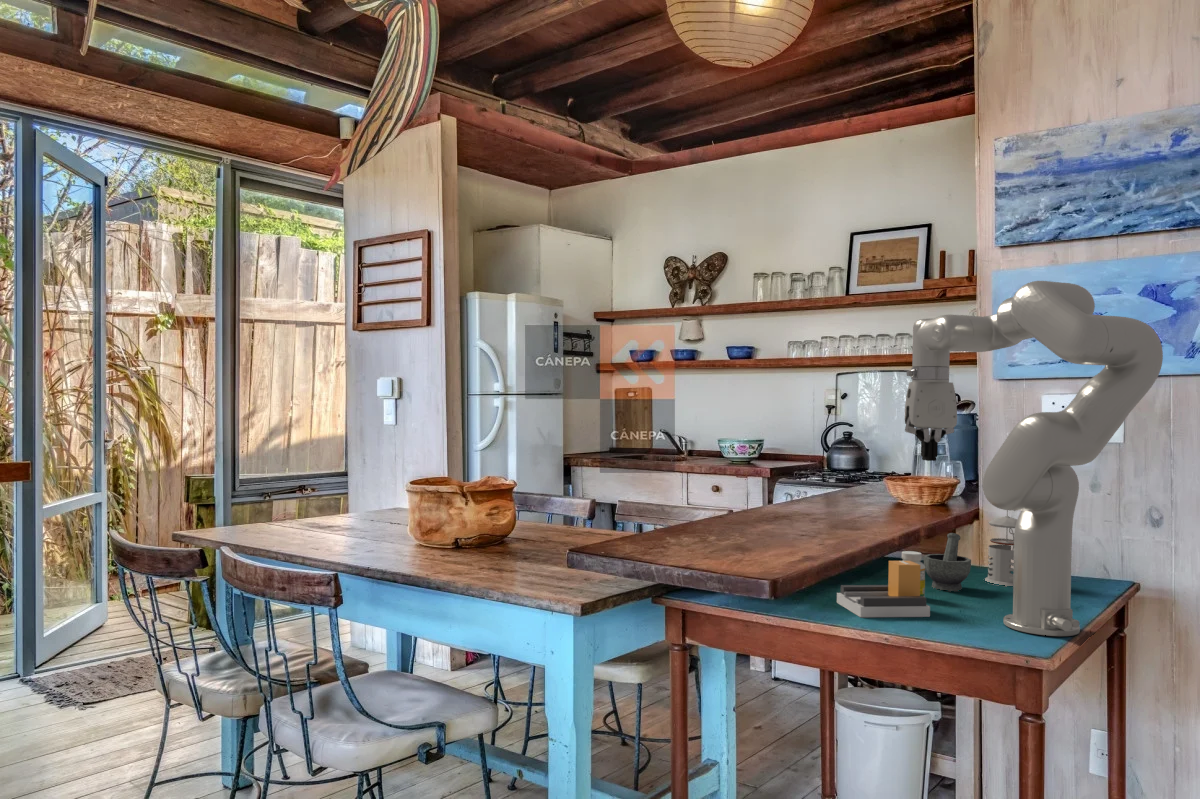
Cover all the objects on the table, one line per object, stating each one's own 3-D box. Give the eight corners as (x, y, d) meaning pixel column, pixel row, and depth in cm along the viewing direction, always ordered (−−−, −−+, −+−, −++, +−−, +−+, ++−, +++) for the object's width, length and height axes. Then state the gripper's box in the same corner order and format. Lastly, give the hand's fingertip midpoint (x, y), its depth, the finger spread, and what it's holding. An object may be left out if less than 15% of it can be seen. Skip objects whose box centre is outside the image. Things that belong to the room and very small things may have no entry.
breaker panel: (929, 616, 166) (930, 598, 166) (860, 617, 165) (860, 598, 165) (901, 602, 178) (902, 584, 178) (836, 602, 177) (837, 585, 177)
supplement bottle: (930, 599, 181) (930, 554, 181) (908, 601, 179) (909, 555, 179) (913, 594, 186) (914, 549, 186) (892, 595, 184) (893, 550, 184)
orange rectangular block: (919, 600, 170) (920, 564, 170) (898, 600, 170) (898, 564, 170) (909, 595, 174) (909, 560, 174) (888, 595, 174) (888, 560, 174)
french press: (976, 581, 200) (978, 474, 200) (995, 575, 208) (997, 472, 208) (1020, 589, 193) (1022, 478, 193) (1038, 582, 201) (1040, 475, 201)
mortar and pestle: (962, 595, 186) (963, 540, 186) (918, 588, 191) (919, 535, 191) (976, 587, 195) (977, 534, 195) (933, 581, 200) (934, 529, 200)
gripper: (905, 374, 182) (904, 461, 182) (972, 376, 183) (970, 462, 183) (889, 375, 189) (888, 458, 189) (954, 377, 191) (952, 459, 191)
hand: (929, 460), depth 186 cm, fingers closed
